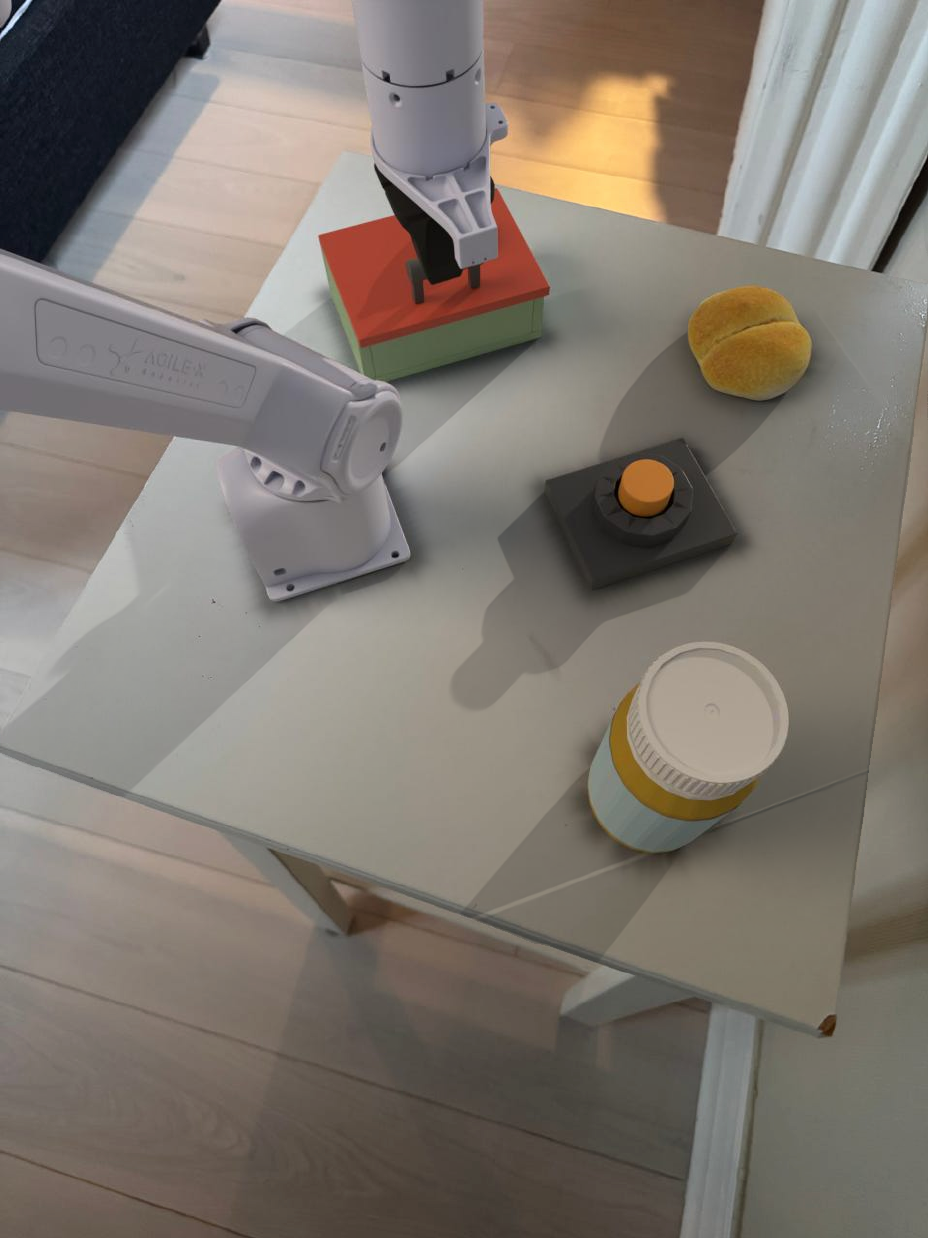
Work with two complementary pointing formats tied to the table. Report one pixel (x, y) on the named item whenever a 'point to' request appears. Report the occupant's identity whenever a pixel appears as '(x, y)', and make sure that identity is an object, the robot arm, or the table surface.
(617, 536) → the push button box
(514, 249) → the lid
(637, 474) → the button
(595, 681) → the table surface
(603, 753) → the bottle
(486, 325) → the box
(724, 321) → the bread roll
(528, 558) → the table surface
